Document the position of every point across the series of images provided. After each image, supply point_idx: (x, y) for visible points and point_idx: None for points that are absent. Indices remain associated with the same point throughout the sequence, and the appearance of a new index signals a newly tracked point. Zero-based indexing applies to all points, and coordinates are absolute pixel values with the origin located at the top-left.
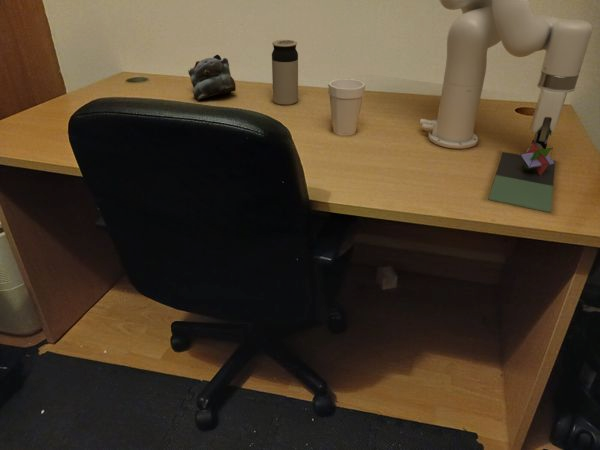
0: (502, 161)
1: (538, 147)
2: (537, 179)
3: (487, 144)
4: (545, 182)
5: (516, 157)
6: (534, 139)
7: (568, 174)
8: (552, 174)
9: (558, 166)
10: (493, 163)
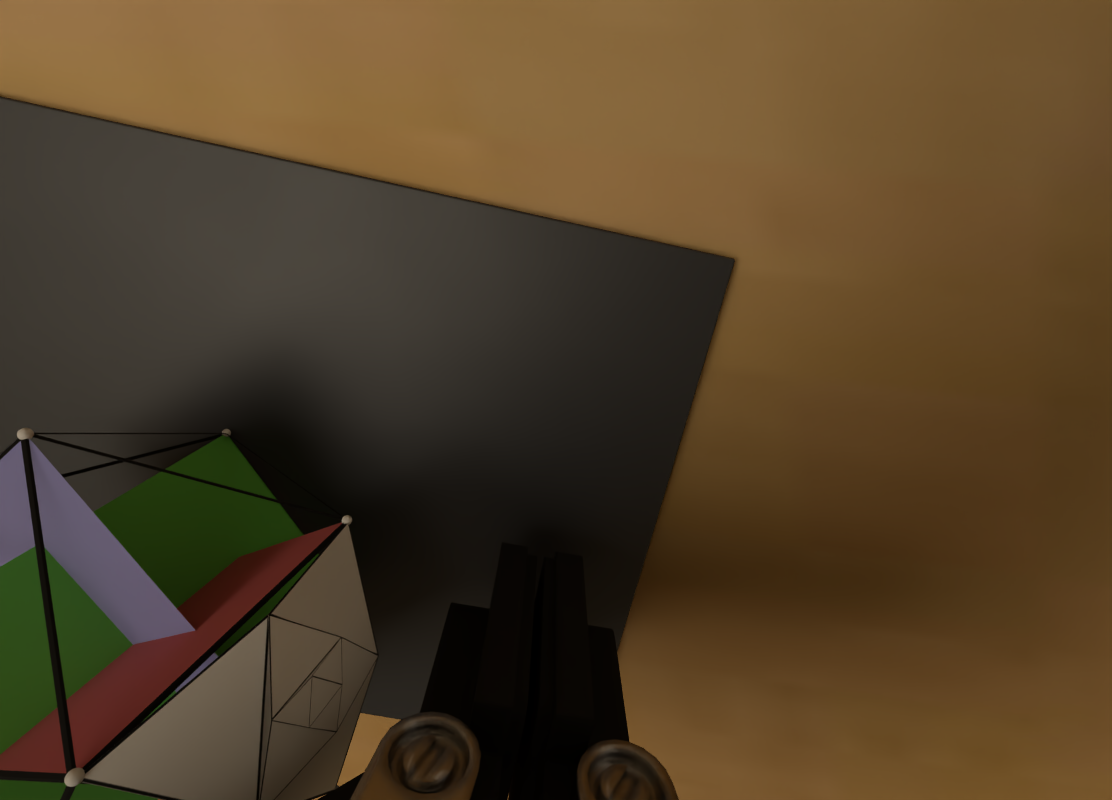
0: (413, 219)
1: (316, 745)
2: None
3: (1034, 57)
4: None
5: (590, 410)
6: (471, 769)
7: None
8: None
9: None
10: (353, 93)
